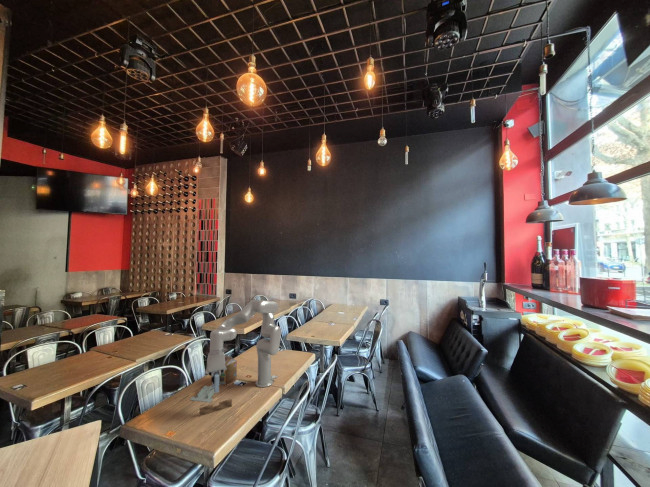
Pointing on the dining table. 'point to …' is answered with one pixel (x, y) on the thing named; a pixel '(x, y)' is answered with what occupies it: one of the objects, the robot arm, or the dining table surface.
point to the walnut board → (215, 407)
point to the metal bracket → (204, 394)
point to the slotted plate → (216, 382)
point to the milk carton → (229, 371)
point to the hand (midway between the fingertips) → (215, 381)
